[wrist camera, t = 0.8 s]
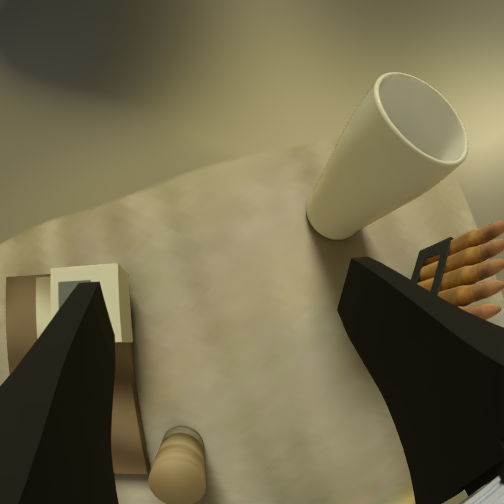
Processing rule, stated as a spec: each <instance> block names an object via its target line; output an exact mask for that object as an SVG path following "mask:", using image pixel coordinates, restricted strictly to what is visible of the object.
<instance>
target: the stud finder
mask: <svg viewBox="0 0 504 504" xmlns="http://www.w3.org/2000/svg"><path fill="white" fill-rule="evenodd" d="M98 281H100V285H101V289H102V293H103V296H104V300H105V304H106V307H107V311H108V314H109V318H110V321H111V324H112V328H113V331H114V334H115V343H126V342H133V336H132V324H131V309H130V292H129V274H128V273H127V272H126V271H125V270H124V269H123V268H122V267H121V266H120V265H119V264H118V263H115V264H102V265H88V266H75V267H61V268H51V284H50V296H51V320H52V318H53V317H54V316H55V314H56V313H57V311H58V310H59V309H60V307H61V306H62V304H63V303H64V302H65V300H66V299H67V298H68V296H69V295H70V294H71V292H72V291H73V290H74V288H75V287H76V286H77V285H78V283H85V282H98Z"/></svg>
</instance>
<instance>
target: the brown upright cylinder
mask: <svg viewBox="0 0 504 504" xmlns="http://www.w3.org/2000/svg"><path fill="white" fill-rule="evenodd" d="M149 486H150V489H151V491H152V492H153V494H154V495H155V496H156V497H157V498H158V499H159V500H161V501H163V502H164V503H167V504H194V503H196V502H197V501H199V500H200V499H201V498H202V497H203V495H204V493H205V490H206V478H205V462H204V445H203V440H202V437H201V436H200V434H199V433H198V432H197V431H195V430H194V429H192V428H190V427H186V426H177V427H174V428H171V429H170V430H168V431H167V432H166V434H165V435H164V438H163V440H162V443H161V446H160V448H159V451H158V453H157V456H156V459H155V461H154V464H153V467H152V469H151V472H150V475H149Z"/></svg>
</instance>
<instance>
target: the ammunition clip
mask: <svg viewBox="0 0 504 504" xmlns="http://www.w3.org/2000/svg"><path fill="white" fill-rule="evenodd" d="M503 232H504V220H501V221H497V222H494V223H491V224H489V225H487V226H484V227H482V228H480V229H476V230H472V231H470V232H468V233H465V234H463V235H461V236H459V237H457V238H455V239H453V238H452V237H449V238H447V239H445V240H443V241H441V242H439V243H436V244H434V245H432V246H430V247H427V248H425V249H423V250H421V251H420V252H419V255H418V258H417V262H416V265H415V268H414V272H413V275H412V278H411V280H412V281H413V282H415V283H417V284H418V285H420V286H422V287H423V288H425V289H427V290H428V291H430V292H432V293H434V294H435V295H437V296H439V297H441V298H442V299H444V300H446V301H448V302H450V303H452V304H453V305H455V306H457V307H459V308H461V309H463V310H465V311H467V312H469V313H471V314H473V315H475V316H477V317H479V318H482V319H484V320H486V319H489V318H491V317H493V316H494V315H496V314H497V313H499V312H500V311H501V309H502V308H501V307H500V306H498V305H494V304H480V305H475V306H467V305H469V304H471V303H473V302H476V301H479V300H481V299H484V298H487V297H490V296H492V295H494V294H496V293H497V292H499V291H500V290H502V289H503V288H504V282H502V281H486V282H481V283H478V284H475V283H476V282H478V281H481V280H483V279H485V278H488V277H490V276H493V275H495V274H496V273H498V272H499V271H501V270H502V269H503V268H504V259H494V260H489V261H486V262H483V261H485V260H487V259H489V258H491V257H493V256H495V255H497V254H499V253H500V252H501V251H503V250H504V239H497V240H493V241H490V240H492V239H494V238H496V237H498V236H499V235H501V234H502V233H503ZM452 239H453V240H452ZM489 241H490V242H489ZM481 262H483V263H481ZM464 306H467V307H464Z"/></svg>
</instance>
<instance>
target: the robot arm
mask: <svg viewBox="0 0 504 504" xmlns="http://www.w3.org/2000/svg"><path fill="white" fill-rule="evenodd" d="M337 310H338V313H339V315H340V318H341V320H342V323H343V325H344V328H345V330H346V332H347V334H348V337H349V338H350V340H351V342H352V344H353V345H354V347H355V349H356V351H357V352H358V354H359V356H360V358H361V359H362V361H363V363H364V364H365V366H366V368H367V369H368V371H369V373H370V374H371V376H372V378H373V380H374V381H375V383H376V385H377V387H378V388H379V390H380V392H381V394H382V396H383V398H384V400H385V402H386V404H387V406H388V409H389V411H390V414H391V416H392V419H393V421H394V424H395V426H396V429H397V432H398V435H399V437H400V440H401V443H402V446H403V449H404V453H405V456H406V460H407V463H408V467H409V471H410V475H411V480H412V485H413V490H414V496H415V503H416V504H442V503H444V502H445V501H447V500H449V499H451V498H452V497H454V496H455V495H457V494H459V493H460V492H462V491H463V490H465V491H466V493H467V495H468V496H469V497H468V498H466V499H465V500H464V501H462V502H461V503H459V504H504V328H503V327H500V326H498V325H495V324H493V323H490V322H488V321H486V320H484V319H482V318H479V317H477V316H475V315H473V314H471V313H469V312H467V311H465V310H463V309H461V308H459V307H457V306H455V305H453V304H452V303H450V302H448V301H446V300H444V299H442V298H441V297H439V296H437V295H435V294H434V293H432V292H430V291H428V290H427V289H425V288H423V287H422V286H420V285H418V284H417V283H415V282H413V281H412V280H410V279H408V278H406V277H405V276H403V275H401V274H400V273H398V272H396V271H394V270H393V269H391V268H389V267H387V266H386V265H384V264H382V263H380V262H378V261H376V260H374V259H372V258H369V257H361V258H351V261H350V265H349V269H348V273H347V277H346V280H345V284H344V288H343V291H342V295H341V298H340V302H339V305H338V309H337ZM114 380H115V334H114V331H113V328H112V324H111V321H110V318H109V314H108V311H107V307H106V304H105V300H104V296H103V293H102V289H101V285H100V281H98V282H85V283H78V285H77V286H76V287H75V288H74V290H73V291H72V292H71V294H70V295H69V296H68V298H67V299H66V300H65V302H64V303H63V304H62V306H61V307H60V309H59V310H58V311H57V313H56V314H55V316H54V317H53V318H52V320H51V321H50V323H49V324H48V325H47V327H46V328H45V329H44V331H43V332H42V334H41V335H40V336H39V338H38V339H37V340H36V342H35V343H34V344H33V346H32V347H31V348H30V350H29V351H28V352H27V354H26V355H25V356H24V358H23V359H22V360H21V362H20V363H19V364H18V366H17V367H16V368H15V369H14V371H13V372H12V373H11V374H10V375H9V377H8V378H7V379H6V380H5V381H4V383H3V384H2V385H1V386H0V504H118V498H117V492H116V486H115V479H114V471H113V462H112V452H111V427H112V408H113V393H114Z"/></svg>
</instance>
